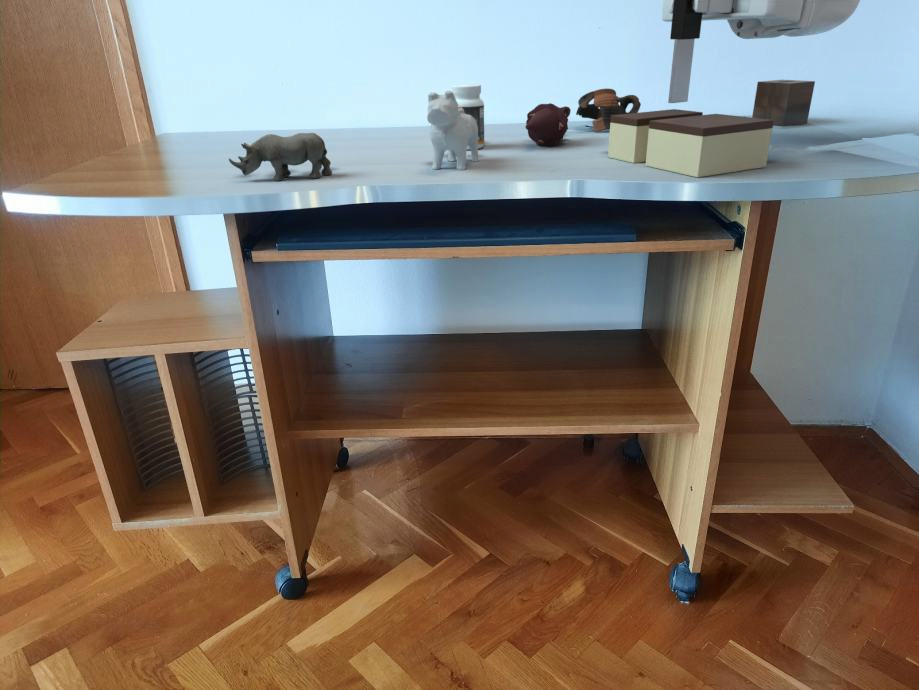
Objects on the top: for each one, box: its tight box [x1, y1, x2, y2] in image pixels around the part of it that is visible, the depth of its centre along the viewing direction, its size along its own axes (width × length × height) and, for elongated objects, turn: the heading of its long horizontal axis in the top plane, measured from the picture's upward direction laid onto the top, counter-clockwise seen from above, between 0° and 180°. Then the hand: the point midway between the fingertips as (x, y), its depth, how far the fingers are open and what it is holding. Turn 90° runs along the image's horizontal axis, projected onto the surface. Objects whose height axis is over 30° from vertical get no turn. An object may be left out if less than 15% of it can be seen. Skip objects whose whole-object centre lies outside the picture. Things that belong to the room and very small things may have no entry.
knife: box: [667, 0, 703, 104], centre depth 86 cm, size 2×3×16 cm
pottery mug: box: [575, 88, 642, 133], centre depth 123 cm, size 12×10×8 cm
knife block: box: [751, 79, 816, 128], centre depth 115 cm, size 7×6×8 cm
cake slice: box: [607, 108, 704, 164], centre depth 95 cm, size 6×12×6 cm, turn 115°
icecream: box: [525, 102, 571, 147], centre depth 107 cm, size 7×7×15 cm
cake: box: [645, 113, 774, 178], centre depth 86 cm, size 10×12×6 cm
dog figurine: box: [426, 90, 479, 171], centre depth 92 cm, size 5×13×11 cm, turn 163°
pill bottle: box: [452, 83, 485, 151], centre depth 107 cm, size 6×6×10 cm
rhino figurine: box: [228, 132, 333, 182], centre depth 89 cm, size 4×14×6 cm, turn 98°
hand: (683, 5), depth 84 cm, fingers closed on knife, 2 cm apart
